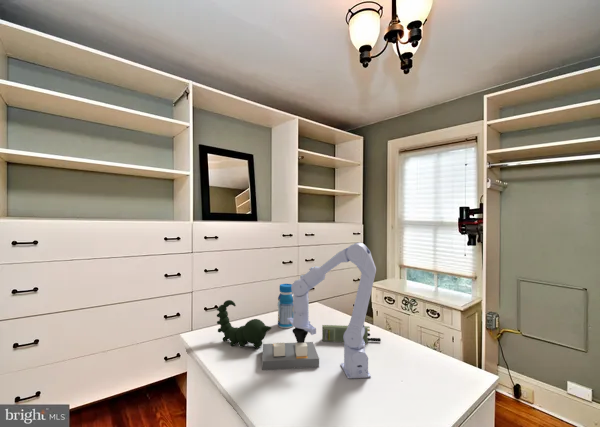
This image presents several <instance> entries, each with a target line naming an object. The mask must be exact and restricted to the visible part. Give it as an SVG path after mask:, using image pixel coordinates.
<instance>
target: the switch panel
mask: <svg viewBox="0 0 600 427" xmlns="http://www.w3.org/2000/svg"><path fill="white" fill-rule="evenodd" d="M274 343H275V342H273V343H262V358H261V359H262V362H261V363H262V366H261V370H262V371H271V370H272V371H273V370H274V371H275V370H290V369H291V370H292V369H293V370H294V369H306V368H307V369H309V368H320V357H319V355H318V352H317V348H316V347H315V344H314V341H304V343H307V356H297V357H296V353H295V347H296V343H297V342H284V343H285V356H274Z"/></svg>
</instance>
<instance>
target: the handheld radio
mask: <svg viewBox="0 0 600 427" xmlns="http://www.w3.org/2000/svg"><path fill="white" fill-rule="evenodd" d="M364 327H365V334H364V336H363V340H364V342H366V343H367V344H368V342H381V340H382V339H381V338H380V337H370V336H371V334H370V331H371V330H370V325H369V326H368V325H364ZM347 328H348V325H341V324H339V325H336V324H335V325H332V324H322V328H321V330H322V331H321V332H322V335H321V336H322V338H321V340H322V342H333V343H344V339H343V335H344V333H345V331H346V330H347ZM366 343H365V344H366Z"/></svg>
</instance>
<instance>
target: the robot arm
mask: <svg viewBox="0 0 600 427" xmlns="http://www.w3.org/2000/svg"><path fill="white" fill-rule="evenodd" d="M349 262H351V263H353V264H354V265H355V266H356V267H357V268H358V270H359V272H361V273H360V279H359V284H358V286H357V292H356V295H355V299H354V300H355V301H354V304H353V308H352V313H351V316H350V320H349V322H348V325H347V326H348V328H347V330H346V331H345V333H344V335H343V339H344V342H343V347H344V348H343V362H341V363H340V366H341V368H342V370H343V372H344V374H345V375H346V378H347V379H359V378H360V379H362V378H363V379H364V378H371V377H372V375H371V374H370V372H369V358H368V355H367V352H366V343H365V342H364V340H363V336H364V334H365V327H364V326H365V321H366V316H367V312H368V307H369V304H370V299H371V294H372V291H373V287H374V286H373V285H374V282H375V277H376V272H377V267H376V264H375V262H374V259H373V256H372V252H371V250H370V249H369V248H368V247H367V245H366V244H364V243H362V242H354V244H351V245H349V246H348V247H346V248H344V249H342V250H340V251H339V252H337V253H336V254H335V255H334V256H332V257H331V258H330V259H328V260H327V261H326V262H325V263H323V264H322V265H320V266H316V265H315V266H312V267H310V268H309V269H308V270H309V271H307V272H305V274H304V275H303V274H301V275H300V276H299V278H298V279H296V280H294V281H293V283H292V287H291V290H292V294H293V295H294V299H293V318H287V324H292V325H293V329H292V333H293V334H294V338H295V340H296V343H304V342H306V338H307V335H308V334H310V335H311V336H313V335H315V334H317V328H316V327H315V326H313V324H311V321H310V319H309V317H310V316H309V307H310V306H309V301H310V300H309V299H310V298H309V292H310V291H311V290H312V289H313V288H315V287H316V286H318V285H319V284H320V283H322V282H323V281H324V280H325V278H326V274H327V273H328V272H330V271H331V270H332V269H334V268H336V267H337V266H339V265H340V264H341V263H349Z"/></svg>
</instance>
